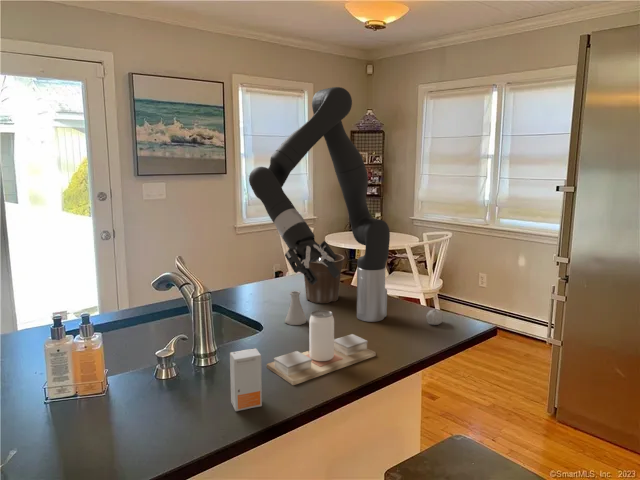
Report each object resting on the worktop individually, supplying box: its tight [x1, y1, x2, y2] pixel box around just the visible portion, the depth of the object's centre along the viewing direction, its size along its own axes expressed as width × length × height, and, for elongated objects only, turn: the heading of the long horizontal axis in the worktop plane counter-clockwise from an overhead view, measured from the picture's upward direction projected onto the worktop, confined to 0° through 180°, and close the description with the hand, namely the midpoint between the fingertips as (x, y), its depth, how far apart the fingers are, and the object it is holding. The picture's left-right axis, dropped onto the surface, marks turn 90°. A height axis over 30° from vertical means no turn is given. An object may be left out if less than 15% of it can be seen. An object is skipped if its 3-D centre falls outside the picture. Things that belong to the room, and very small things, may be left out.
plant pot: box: [303, 252, 345, 304], centre depth 178 cm, size 16×16×16 cm
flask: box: [283, 290, 307, 326], centre depth 155 cm, size 7×7×10 cm
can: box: [308, 309, 335, 362], centre depth 125 cm, size 6×6×12 cm
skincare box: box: [229, 348, 263, 412], centre depth 104 cm, size 6×4×12 cm
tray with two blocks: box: [266, 333, 377, 386], centre depth 126 cm, size 27×12×4 cm, turn 128°
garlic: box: [425, 308, 444, 326], centre depth 153 cm, size 6×5×5 cm
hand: (326, 279), depth 121 cm, fingers open, 8 cm apart
